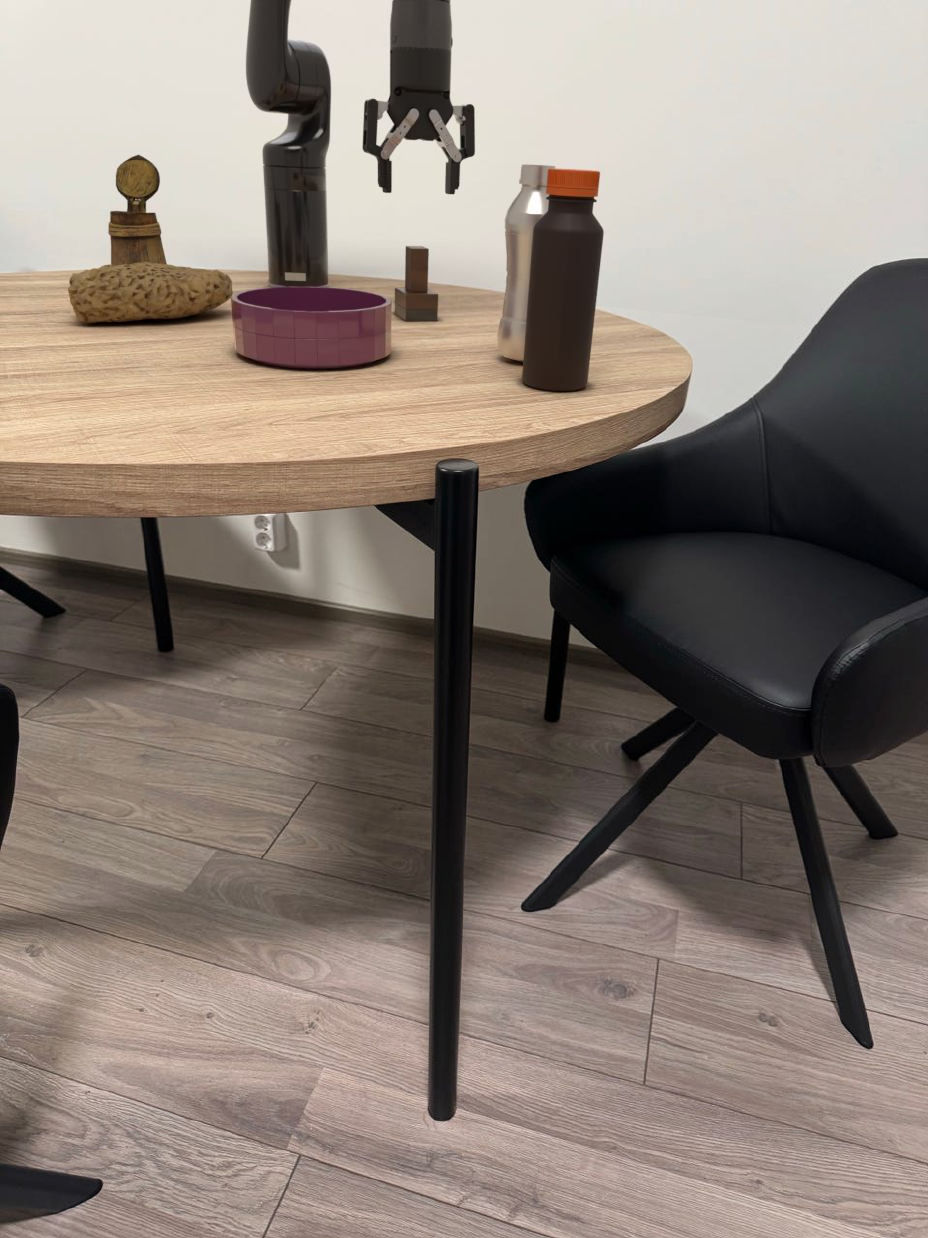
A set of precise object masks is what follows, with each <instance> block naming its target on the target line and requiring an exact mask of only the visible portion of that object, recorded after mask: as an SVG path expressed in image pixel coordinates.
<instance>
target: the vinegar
mask: <svg viewBox="0 0 928 1238" xmlns="http://www.w3.org/2000/svg"><path fill="white" fill-rule="evenodd" d="M600 179H601V171H599V170H591V169H590V170H589V169H576V168H575V169H573V168H555V169H552V168H550V169H548V174H547V186H546V194H549V196H548V197H546V199H547V200H549V203H548V211H547V212H546V213H545V214H544V215H543V217H542V218H541V219H540V220H539V221H538V222H537V223H536V224H535V226H534V228H533V239H532V252H531V266H530V279H529V292H528V305H527V319H526V332H525V345H524V358H523V362H522V372H521V373H522V374H521V380H522V382H523V383H524V384H525V385H526V386H528V387H530V388H534V389H538V390H542V391H551V392H573V391H579V390H582V389H584V388H585V387H586V386H587V384H588V382H589V381H588V380H589V372H590V362H591V353H592V345H593V344H592V343H593V335H594V325H595V316H596V307H597V299H598V288H599V279H600V273H601V272H600V271H601V261H602V253H603V252H602V251H603V245H604V244H603V242H604V234H605V232H604V228H603V226H602V225H601V223H600V222H599V220H598V219H597V218H596V216H595V214H594V203H597V201H598V200H597V199H596V198H597V197H598V196H599V188H600Z"/></svg>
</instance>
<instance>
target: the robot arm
mask: <svg viewBox="0 0 928 1238" xmlns="http://www.w3.org/2000/svg"><path fill="white" fill-rule="evenodd" d="M451 2H452V1H451V0H392V1H391V12H390V18H389V19H390V21H389V97H388V99H387V101H384V100H377V99H375V98H368V99H366V100H365V101H364V103H363V105H364V106H363V125H362V151H363V152H364V153H366V154H369V155H371V156H373V157H374V158H376V160H377V161H376V162H377V185H378V187H379V188H381V189H382V193H385V194H392V188H393V185H392V184H393V183H392V181H393V180H392V179H393V175H392V174H393V171H392V170H393V169H392V168H393V166H392V165H393V161H392V160H391V159H390V158H391V156H392V154H393V153H394V151H395V150H396V148H397V147H398V146H399V145H400V144H401V143H402V141H403V139H404V140H405V141H418V140H421V141H425V142H434V141H435V142H436V144H437V146H438V147H439V148H440V149H441V151H442V152H443V154H444V156H445V157H446V159H447V162H446V161H445V175H444V177H445V178H444V180H445V181H444V192H445V194H446V195H455V193H456V190H459V187H460V184H461V183H460V181H461V180H460V177H461V163H462V161H463V160H466V159H468V158H472V157H474V156H475V155H476V123H475V121H476V119H475V118H476V115H475V113H476V112H475V110H476V109H475V105H473V104H471V103H466V104H462V105H453V104H452V101H451V84H452V83H451V82H452V81H451V79H452V75H451V74H452V49H453V43H454V39H453V22H452V21H453V19H452V8H451V7H452V4H451ZM291 5H292V0H250V4H249V13H248V15H249V16H248V25H247V26H248V27H247V36H246V37H247V38H246V51H245V80H246V87H247V91H248V95H249V98H250V99H251V101H252V103H253V105H254V106H255V107H256V108H257V109H258V110H259V111H262V112H264V113H272V114H282V115H287V124H286V127H285V129H284V130H283V132H282V133H281V134H279V136H277V137H276V138H273V139H270V140H269V141H267V142H265V143H264V144H263V146H262V152H261V153H262V154H261V157H262V171H263V174H262V175H263V187H264V189H263V190H264V192H263V193H264V207H265V208H264V210H265V211H264V212H265V229H266V230H265V231H266V245H267V246H266V248H267V249H266V251H267V271H268V272H267V273H268V281H267V282H268V287H281V286H318V287H330V282H329V237H328V233H329V231H328V201H327V200H328V197H327V196H328V195H327V194H328V193H327V155H328V152H329V148H330V143H331V116H332V115H331V113H332V77H331V69H330V64H329V62H328V59H327V56H326V54H325V52H324V50H323V49H322V48H321V46H319V45H318V44H317V43H314V42H311V41H305V40H299V39H291V38H289V23H290V12H291ZM384 112H386V113H387V115H388V117H389V119H390V120H391V122H392V124H393V125H392V127H391V128H390V129H389V131H388V132H387V133H386V135H385V137H384V140H383V141H382V142H381V144H380V145H378V144H377V139H378V122H379V120H382V119H383V117H384V114H385V113H384ZM453 116H454V118H455V122H456V124H458V125H459V148H458V147H457V145H456V143H455V140H454V138H453V136H452V135H451V133H450V131H449V129H448V128H447V124H448V123H449V121H450V120H451V119H452V117H453Z"/></svg>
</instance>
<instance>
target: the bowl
mask: <svg viewBox="0 0 928 1238" xmlns="http://www.w3.org/2000/svg"><path fill="white" fill-rule="evenodd" d="M230 307H231V320H232V334H233V335H232V336H233V347H234V348H233V349H234V350H235V352H236V353H238V354H239V355H240V356H243V357H245V358H249V359H251V360H252V361H255V362H258V363H259V364H260V363H261V364H265V365H270V366H273V367H280V368H289V369H302V370H303V369H304V370H332V369H333V370H334V369H336V370H337V369H346V368H347V369H348V368H354V367H355V368H356V367H360V366H365V365H369V364H372V363H374V362H376V361H378V360H381V359H384V358H386V357H387V356H389V355H390V354H391V353H392V309H393V308H392V307H393V306H392V299H391V298H390V297H388V296H387V295H384V294H381V293H377V292H372V291H368V290H363V289H354V288H348V287H347V288H346V287H335V286H329V287H318V286H281V287H269V286H268V287H267V286H266V287H257V288H251V289H243V290H241V291H237V292H235V293H233V294H232V296H231V298H230Z"/></svg>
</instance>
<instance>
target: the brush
mask: <svg viewBox="0 0 928 1238" xmlns="http://www.w3.org/2000/svg"><path fill="white" fill-rule="evenodd" d="M429 252H430V250H429V248H428V247H425V246H423V245H405V257H404V258H405V260H404V261H405V266H404V268H405V269H404V287H403V286H397V287H396V286H395V287H394V315H396V316H398V317H399V318H400V319H402V320H403V321H405V322H437V321H438V319H439V318H438V317H439V315H438V314H439V294H438V293H437V292H435V291H433V290H431V289H430V288H428V287H429Z"/></svg>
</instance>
